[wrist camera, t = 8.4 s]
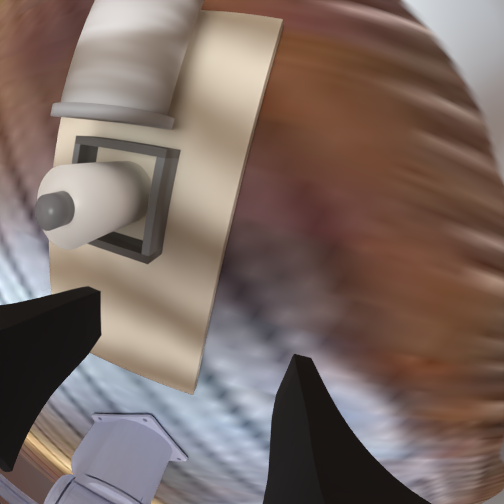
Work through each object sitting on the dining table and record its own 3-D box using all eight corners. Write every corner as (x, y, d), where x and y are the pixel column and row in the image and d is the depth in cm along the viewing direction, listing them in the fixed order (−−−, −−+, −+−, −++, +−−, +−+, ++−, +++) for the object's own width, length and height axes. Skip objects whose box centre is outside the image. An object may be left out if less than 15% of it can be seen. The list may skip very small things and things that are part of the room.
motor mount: (196, 387, 22) (167, 454, 15) (62, 329, 23) (14, 371, 16) (283, 26, 14) (275, -44, 7) (98, 21, 14) (36, -10, 7)
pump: (114, 232, 18) (39, 268, 11) (92, 178, 17) (12, 192, 10) (162, 209, 17) (91, 238, 10) (138, 149, 16) (59, 148, 9)
